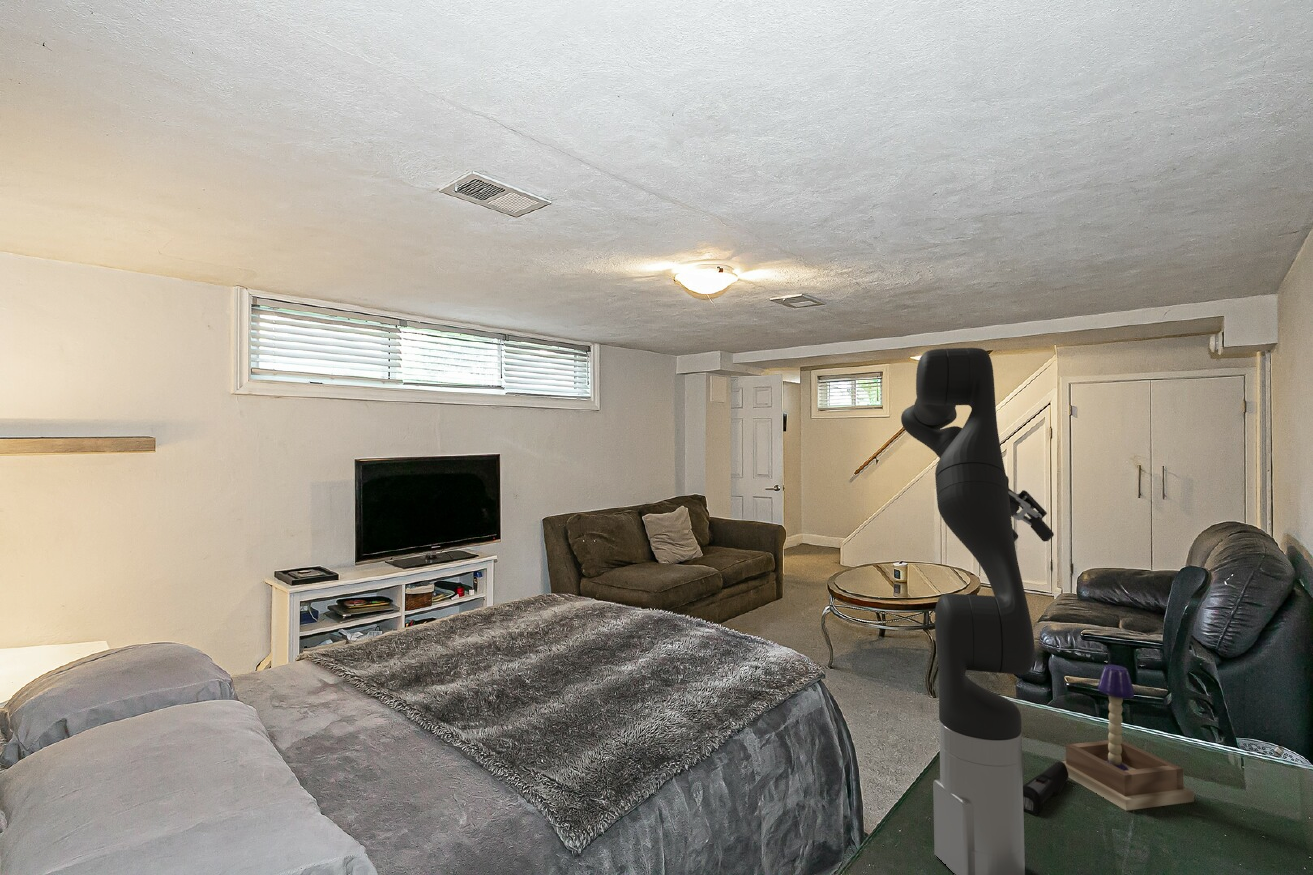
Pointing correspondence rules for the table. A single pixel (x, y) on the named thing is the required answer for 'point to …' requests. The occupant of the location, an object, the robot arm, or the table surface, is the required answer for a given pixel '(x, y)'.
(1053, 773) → the electric trimmer
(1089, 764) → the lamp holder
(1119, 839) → the table surface
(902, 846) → the table surface
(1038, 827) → the table surface
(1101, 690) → the toy lamp
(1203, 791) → the table surface
